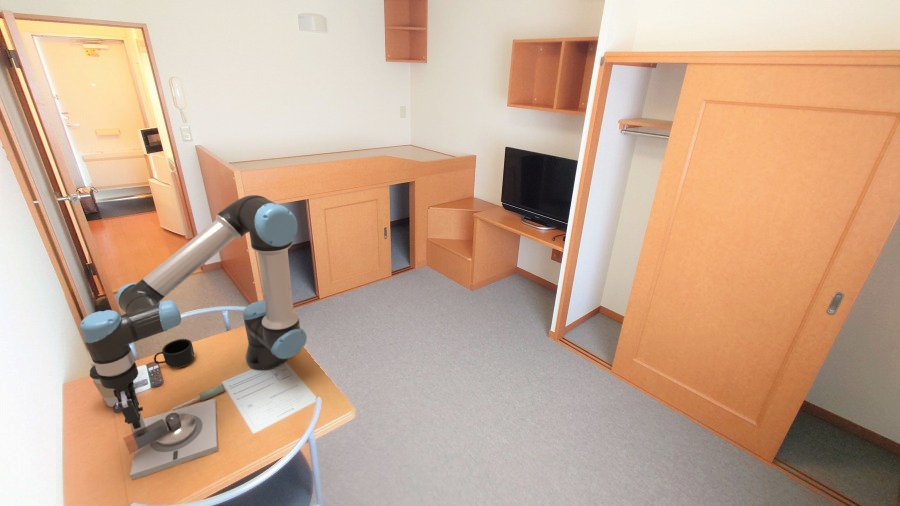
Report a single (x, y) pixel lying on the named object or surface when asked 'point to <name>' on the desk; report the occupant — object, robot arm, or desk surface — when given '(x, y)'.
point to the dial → (163, 432)
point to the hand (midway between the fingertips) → (140, 432)
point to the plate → (192, 448)
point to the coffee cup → (103, 388)
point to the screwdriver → (205, 395)
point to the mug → (177, 353)
